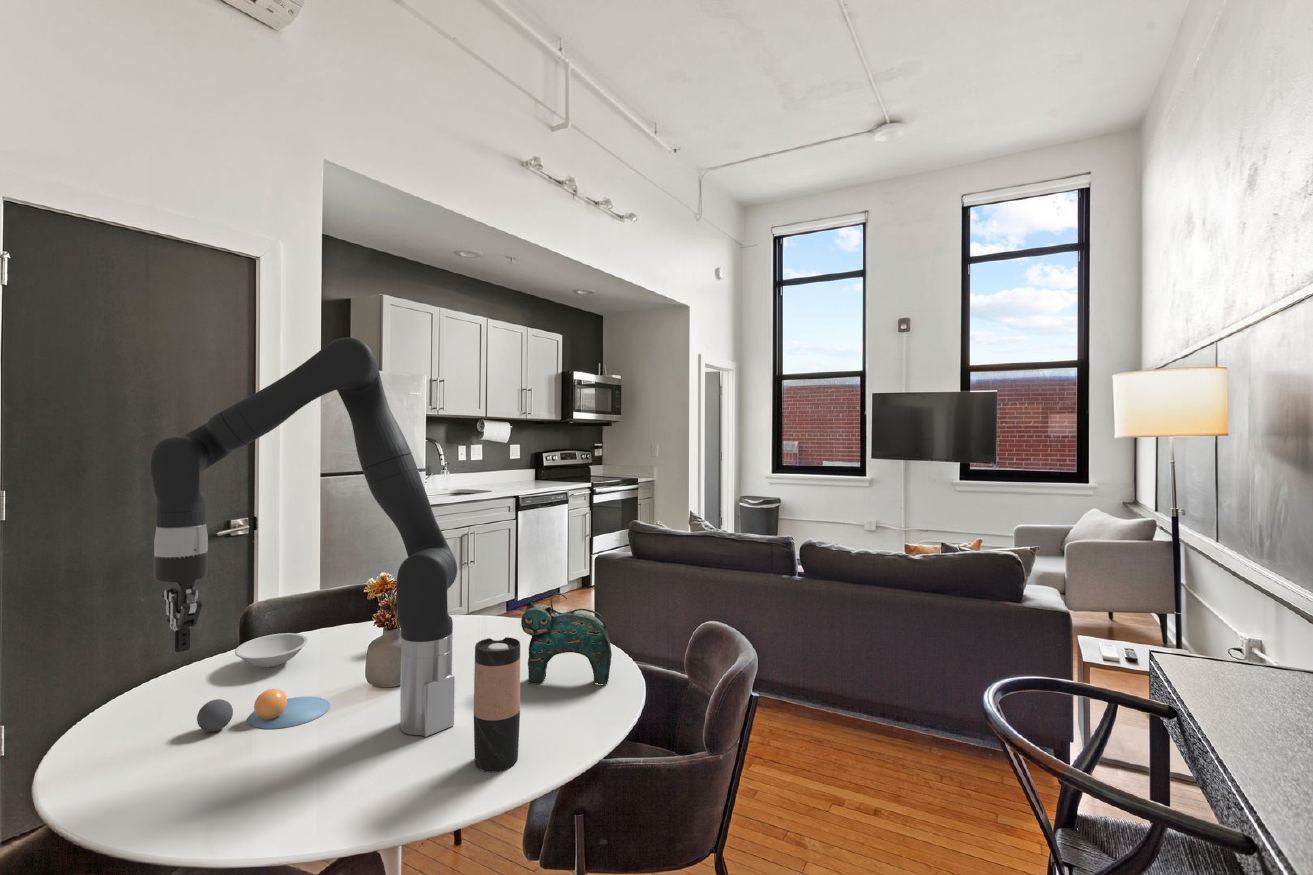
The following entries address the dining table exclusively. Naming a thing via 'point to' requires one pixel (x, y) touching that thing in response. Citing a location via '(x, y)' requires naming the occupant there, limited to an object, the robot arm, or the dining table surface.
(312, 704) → the blue mark
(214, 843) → the dining table surface
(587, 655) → the ceramic cat
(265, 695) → the orange ball
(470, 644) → the dining table surface
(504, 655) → the travel mug
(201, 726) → the gray ball
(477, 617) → the dining table surface
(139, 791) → the dining table surface
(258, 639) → the dish
